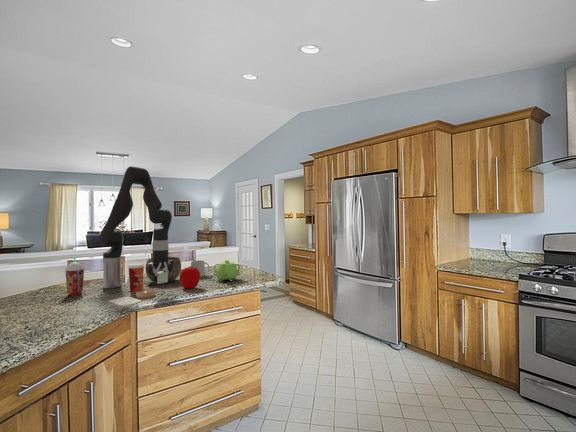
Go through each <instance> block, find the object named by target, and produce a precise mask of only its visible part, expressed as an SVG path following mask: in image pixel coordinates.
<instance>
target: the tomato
mask: <svg viewBox="0 0 576 432" xmlns="http://www.w3.org/2000/svg"><path fill="white" fill-rule="evenodd" d="M200 279H201V277H200V272H199V270H198V269H197V268H196V267H191V265H190V266H187V267H185V268H183V269H181V271H180V274H179V283H180V284H181V286H182V288H184V289H186V290H187V289H188V290H192V289H195V288H196V287H197V286H198V285H199V282H200Z"/></svg>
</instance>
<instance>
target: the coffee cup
mask: <svg viewBox="0 0 576 432" xmlns="http://www.w3.org/2000/svg"><path fill="white" fill-rule="evenodd" d="M127 268H128V278H129V279H128V280H129V281H128V283H129V291H130V292H132V293H136V291H139V290H144V268H145V265H144V263H141V262H140V263H137V262H136V263H130V264H128V267H127Z"/></svg>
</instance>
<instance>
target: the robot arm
mask: <svg viewBox="0 0 576 432" xmlns="http://www.w3.org/2000/svg"><path fill="white" fill-rule="evenodd" d="M134 184H135V185H141V186H142V187H143V188H144V191H143V195H142V200H143V202H144V204H145V206H146V209H147V211H148V217H149V221H150V222H151V223H153V224H156V225H157V224H159V225H160V224H161V225H160V227H157V228H154V229H153V232H152V240H153V241H152V258H153V261H152V263H149V264H147V269H148V273H149V275H152V276H153V281H152V282H153V284H157V273H158V271H159V269H161V268H162V270H163V271H164V272H168V273H169V272H171V271H172V267H173V262H174V261H171V260H168V257H169V230H170V226H171V223H172V218H173V216H172V212H171V210H168V209H162V208H163V205H162V202H161V200H160V199H159V196H158V195H157V192H156V190H155V188H154V185H153V181H152V178H151V175H150V172H149V171H148V170H147V169H145V168H143V167H138V166H134V165H132V166H128V167H127V168H126V169H125V172H124V174H123V178H122V182H121V186H120V189H119V191H118V194H117V197H116V199H115V201H114V204H113V206H112V209H111V211H110V214H109V216H108V218H107V220H106V223H105V224H104V226H103V228H102V229H101V232H100V234H99V237H98V238H99V239H98V242H99V244H100V246H102V247H110V248H109V249H108V250H106V251H105V252H103V254H102V265H103V266H102V271H103V273H102V276H103V279H102V281H103V283H102V284H103V288H104V289H114V288H119V287H121V286H122V253H123V242H124V241H123V239H124V238H123V233H122V231H121V230H120V229H116V228H118V226H119V225H121V224H122V223H123V222H124V221H125V220H127V219H128V218H129V216H130V214H131V212H132V209H133V207H134V201H133V197H132V194H131V189H132V185H134ZM167 264H168V268H167ZM153 265H154V268H153V269H152V267H153Z"/></svg>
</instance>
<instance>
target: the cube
mask: <svg viewBox="0 0 576 432" xmlns="http://www.w3.org/2000/svg"><path fill="white" fill-rule="evenodd" d="M165 283H169V282H168V272H164V271H160V272H158V273H157V283H156V284H157V285H158V284H165Z"/></svg>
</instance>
